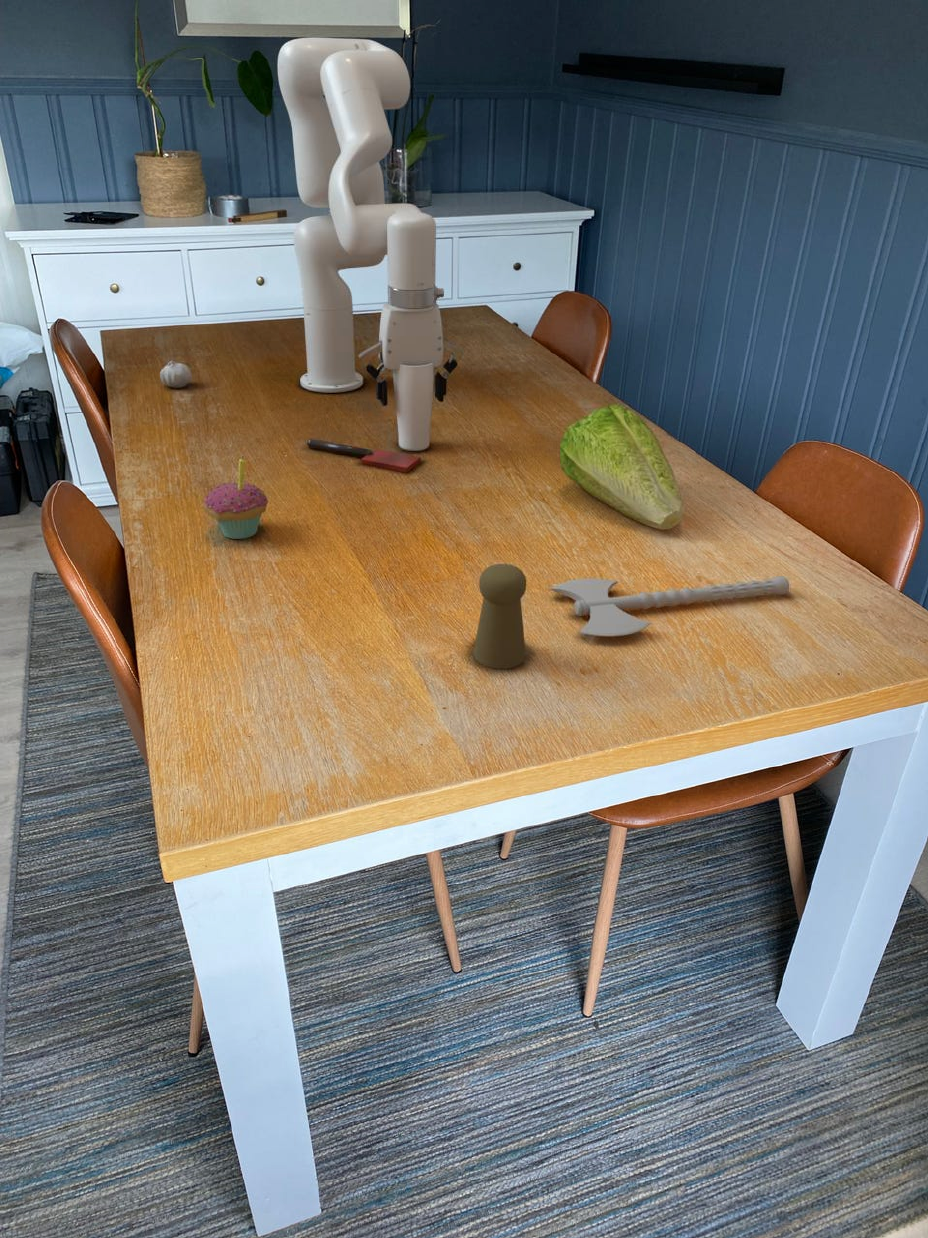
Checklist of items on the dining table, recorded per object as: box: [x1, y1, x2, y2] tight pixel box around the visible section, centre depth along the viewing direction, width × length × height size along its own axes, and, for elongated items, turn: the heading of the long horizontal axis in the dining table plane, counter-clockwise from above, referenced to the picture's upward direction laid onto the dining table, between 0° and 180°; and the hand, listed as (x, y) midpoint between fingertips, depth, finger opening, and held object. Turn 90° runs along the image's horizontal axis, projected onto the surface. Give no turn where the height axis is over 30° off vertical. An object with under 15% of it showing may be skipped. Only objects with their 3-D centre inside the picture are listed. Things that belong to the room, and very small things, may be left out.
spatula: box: [306, 438, 422, 474], centre depth 160 cm, size 20×5×2 cm, turn 66°
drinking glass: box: [392, 362, 435, 452], centre depth 161 cm, size 7×7×15 cm
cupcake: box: [203, 454, 269, 540], centre depth 132 cm, size 9×8×12 cm
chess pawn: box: [472, 563, 527, 670], centre depth 107 cm, size 6×6×11 cm
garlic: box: [159, 360, 192, 389], centre depth 188 cm, size 6×5×5 cm
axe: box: [549, 575, 790, 637], centre depth 119 cm, size 30×14×2 cm, turn 104°
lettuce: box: [559, 403, 684, 531], centre depth 142 cm, size 14×23×14 cm
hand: (411, 401), depth 161 cm, fingers open, 9 cm apart
